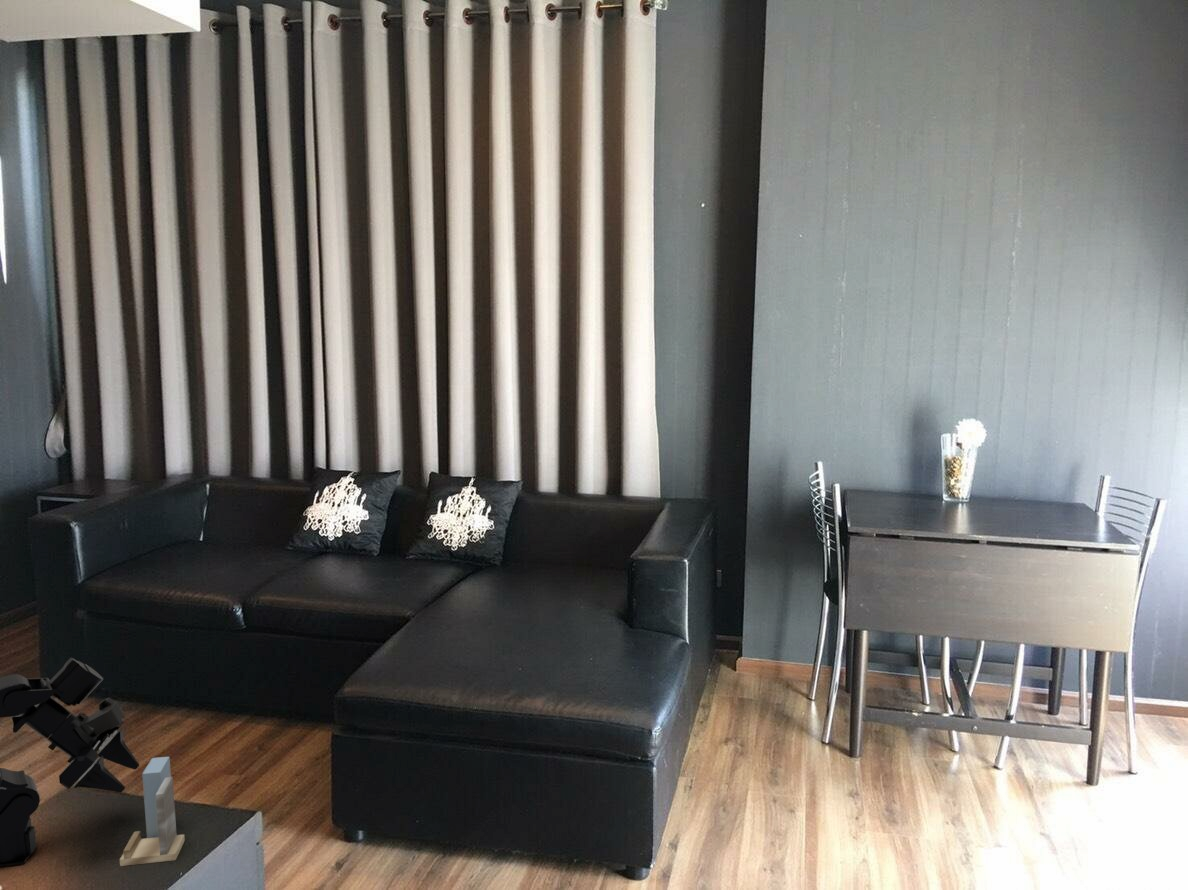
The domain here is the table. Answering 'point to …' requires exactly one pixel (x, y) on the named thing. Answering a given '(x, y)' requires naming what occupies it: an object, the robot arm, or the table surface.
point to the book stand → (167, 841)
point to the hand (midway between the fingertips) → (130, 778)
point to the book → (154, 791)
